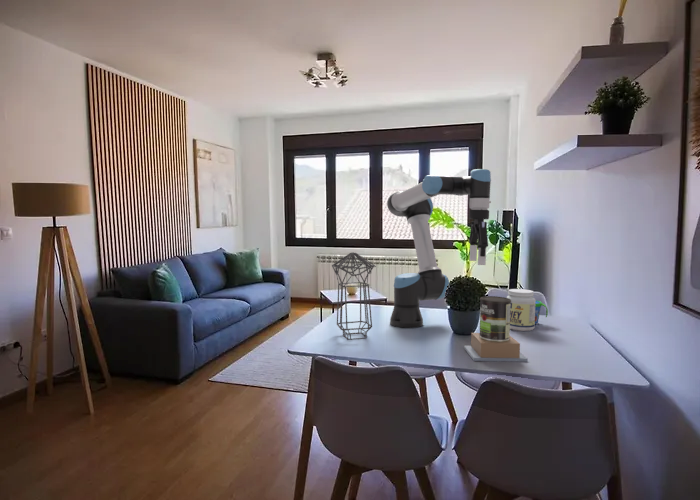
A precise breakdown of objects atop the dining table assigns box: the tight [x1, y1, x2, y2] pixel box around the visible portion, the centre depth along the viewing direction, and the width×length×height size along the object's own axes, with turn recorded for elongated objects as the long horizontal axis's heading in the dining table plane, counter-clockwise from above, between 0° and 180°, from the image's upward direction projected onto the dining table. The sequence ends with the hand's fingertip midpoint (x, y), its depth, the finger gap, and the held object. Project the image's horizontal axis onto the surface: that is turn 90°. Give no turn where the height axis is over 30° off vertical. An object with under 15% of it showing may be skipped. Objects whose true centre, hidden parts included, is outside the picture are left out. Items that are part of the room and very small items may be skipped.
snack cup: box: [535, 299, 549, 325], centre depth 190 cm, size 16×10×10 cm
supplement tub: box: [505, 288, 537, 332], centre depth 180 cm, size 12×12×17 cm
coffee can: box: [479, 295, 511, 342], centre depth 143 cm, size 10×10×14 cm
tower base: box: [463, 332, 528, 363], centre depth 144 cm, size 18×14×6 cm
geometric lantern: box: [331, 252, 377, 341], centre depth 167 cm, size 16×16×35 cm
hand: (477, 262), depth 161 cm, fingers open, 13 cm apart
